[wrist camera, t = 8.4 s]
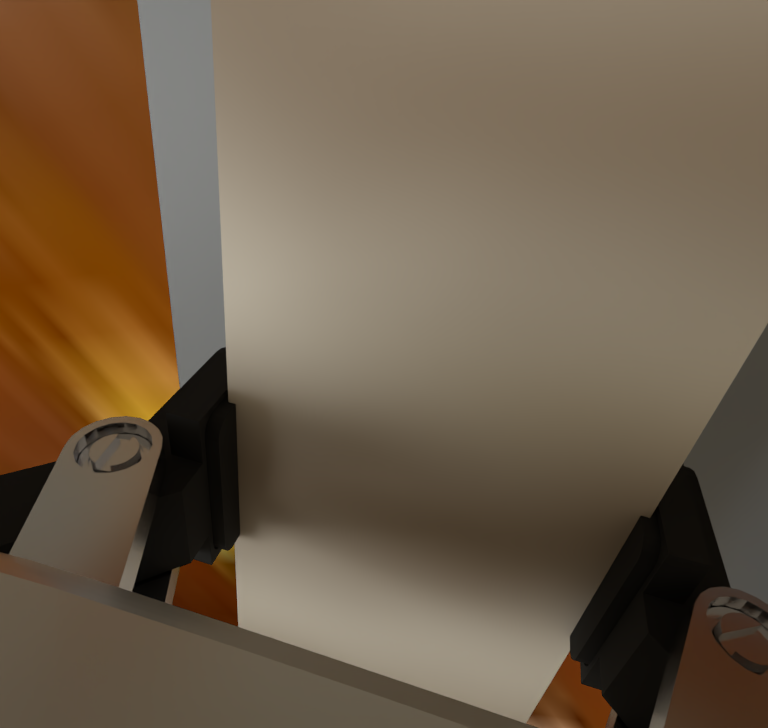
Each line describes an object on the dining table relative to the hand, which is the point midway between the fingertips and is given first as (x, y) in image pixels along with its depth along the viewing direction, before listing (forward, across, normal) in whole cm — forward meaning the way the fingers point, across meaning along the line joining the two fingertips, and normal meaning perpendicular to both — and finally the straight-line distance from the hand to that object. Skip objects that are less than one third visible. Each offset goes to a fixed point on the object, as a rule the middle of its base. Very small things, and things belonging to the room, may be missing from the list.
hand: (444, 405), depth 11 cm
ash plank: (+1, 0, 0) cm, 1 cm away
